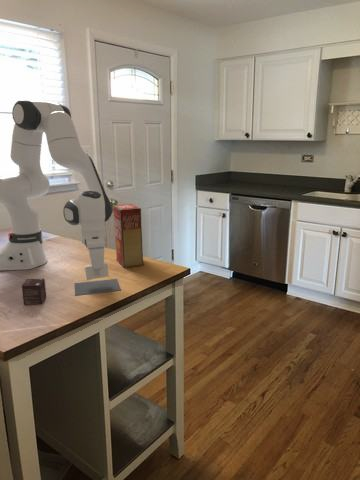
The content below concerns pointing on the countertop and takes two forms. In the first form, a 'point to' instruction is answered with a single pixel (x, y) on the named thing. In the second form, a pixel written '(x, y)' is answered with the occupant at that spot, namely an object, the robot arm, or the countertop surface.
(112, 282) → the mat
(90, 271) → the tile
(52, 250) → the countertop surface
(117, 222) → the food packaging
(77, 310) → the countertop surface
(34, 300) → the box
